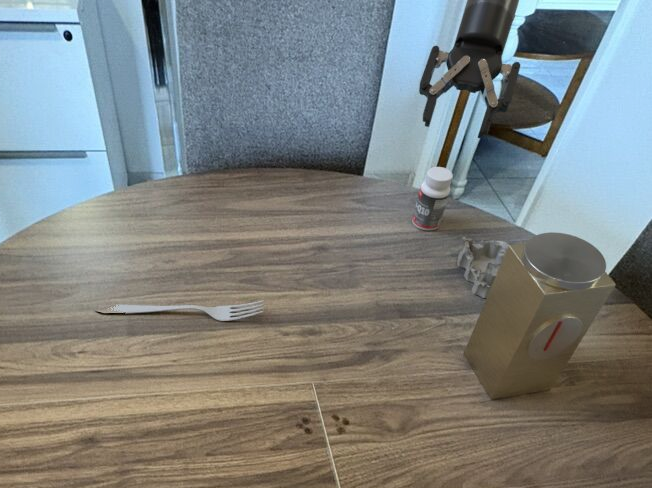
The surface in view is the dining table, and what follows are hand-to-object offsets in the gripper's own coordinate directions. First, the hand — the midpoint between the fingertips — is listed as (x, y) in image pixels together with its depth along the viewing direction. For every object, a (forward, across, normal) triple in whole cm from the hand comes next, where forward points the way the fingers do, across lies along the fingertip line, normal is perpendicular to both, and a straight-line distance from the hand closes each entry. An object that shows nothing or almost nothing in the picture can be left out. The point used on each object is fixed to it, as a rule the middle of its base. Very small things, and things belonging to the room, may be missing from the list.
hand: (453, 130), depth 97 cm
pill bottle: (+13, 0, +3) cm, 14 cm away
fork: (+39, -29, -22) cm, 53 cm away
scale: (+34, +17, -18) cm, 43 cm away
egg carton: (+21, +12, -4) cm, 24 cm away
